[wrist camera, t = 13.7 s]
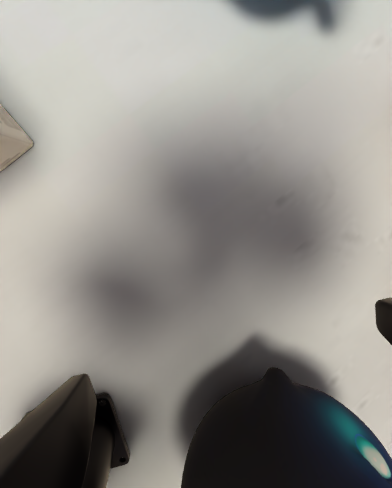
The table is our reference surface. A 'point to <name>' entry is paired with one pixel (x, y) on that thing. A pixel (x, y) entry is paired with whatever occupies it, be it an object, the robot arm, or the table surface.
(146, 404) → the table surface
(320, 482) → the figurine
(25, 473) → the robot arm
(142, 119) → the table surface
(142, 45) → the table surface
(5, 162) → the ink box
